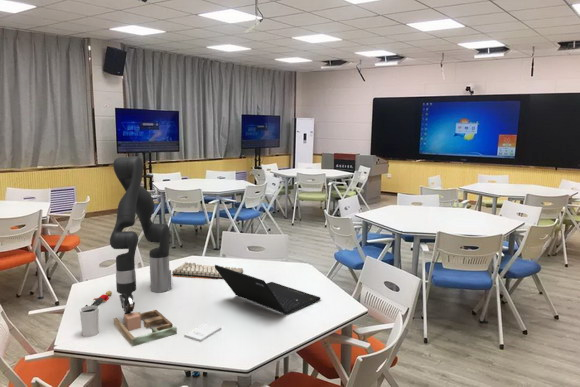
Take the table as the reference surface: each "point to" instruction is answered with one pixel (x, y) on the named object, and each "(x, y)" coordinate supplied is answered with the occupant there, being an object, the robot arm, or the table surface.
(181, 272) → the mechanical keyboard
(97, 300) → the person figure
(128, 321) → the clay block
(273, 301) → the laptop
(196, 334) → the external hard drive
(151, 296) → the table surface
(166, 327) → the brown frame
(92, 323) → the drinking glass
